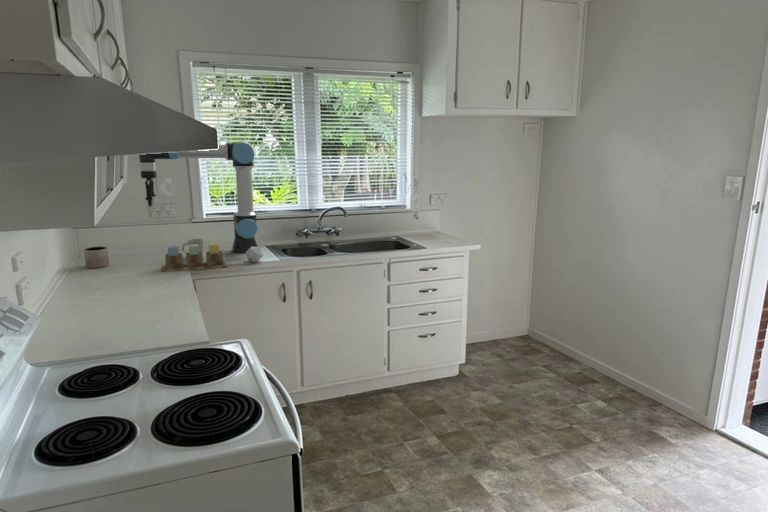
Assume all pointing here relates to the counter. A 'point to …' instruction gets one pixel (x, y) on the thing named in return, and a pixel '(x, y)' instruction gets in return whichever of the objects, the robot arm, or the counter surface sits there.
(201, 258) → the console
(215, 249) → the button ochre
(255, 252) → the die
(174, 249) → the button slate
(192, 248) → the button sage
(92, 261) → the planter
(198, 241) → the mug
